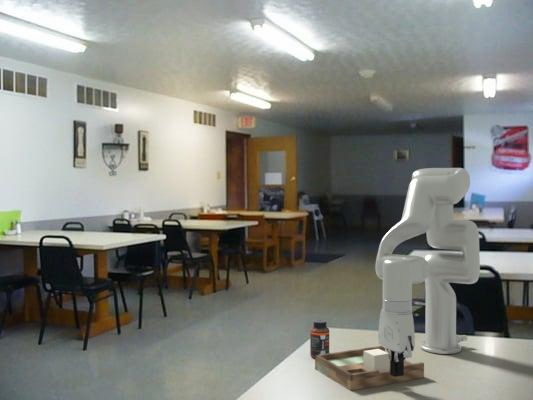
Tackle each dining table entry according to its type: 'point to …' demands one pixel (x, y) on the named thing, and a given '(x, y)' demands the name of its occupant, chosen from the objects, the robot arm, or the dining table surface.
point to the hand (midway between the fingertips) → (396, 375)
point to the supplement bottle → (319, 338)
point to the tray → (361, 369)
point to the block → (376, 360)
